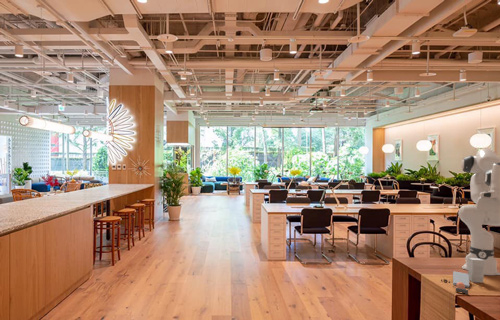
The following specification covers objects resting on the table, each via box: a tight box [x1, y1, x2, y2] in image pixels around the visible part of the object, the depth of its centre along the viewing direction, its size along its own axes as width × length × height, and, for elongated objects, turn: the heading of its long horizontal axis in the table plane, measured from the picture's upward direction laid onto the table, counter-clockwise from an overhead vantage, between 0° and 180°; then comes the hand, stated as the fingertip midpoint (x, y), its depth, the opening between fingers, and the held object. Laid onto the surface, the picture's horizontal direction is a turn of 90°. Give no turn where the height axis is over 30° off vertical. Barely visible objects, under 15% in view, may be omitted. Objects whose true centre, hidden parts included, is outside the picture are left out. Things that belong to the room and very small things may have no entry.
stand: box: [440, 278, 451, 284], centre depth 184 cm, size 4×4×1 cm
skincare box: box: [467, 258, 485, 284], centre depth 187 cm, size 6×4×12 cm
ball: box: [455, 282, 466, 289], centre depth 173 cm, size 4×4×4 cm
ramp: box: [452, 270, 470, 289], centre depth 182 cm, size 12×7×4 cm, turn 150°
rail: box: [455, 287, 469, 295], centre depth 167 cm, size 1×5×2 cm, turn 60°
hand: (499, 222), depth 175 cm, fingers open, 8 cm apart
